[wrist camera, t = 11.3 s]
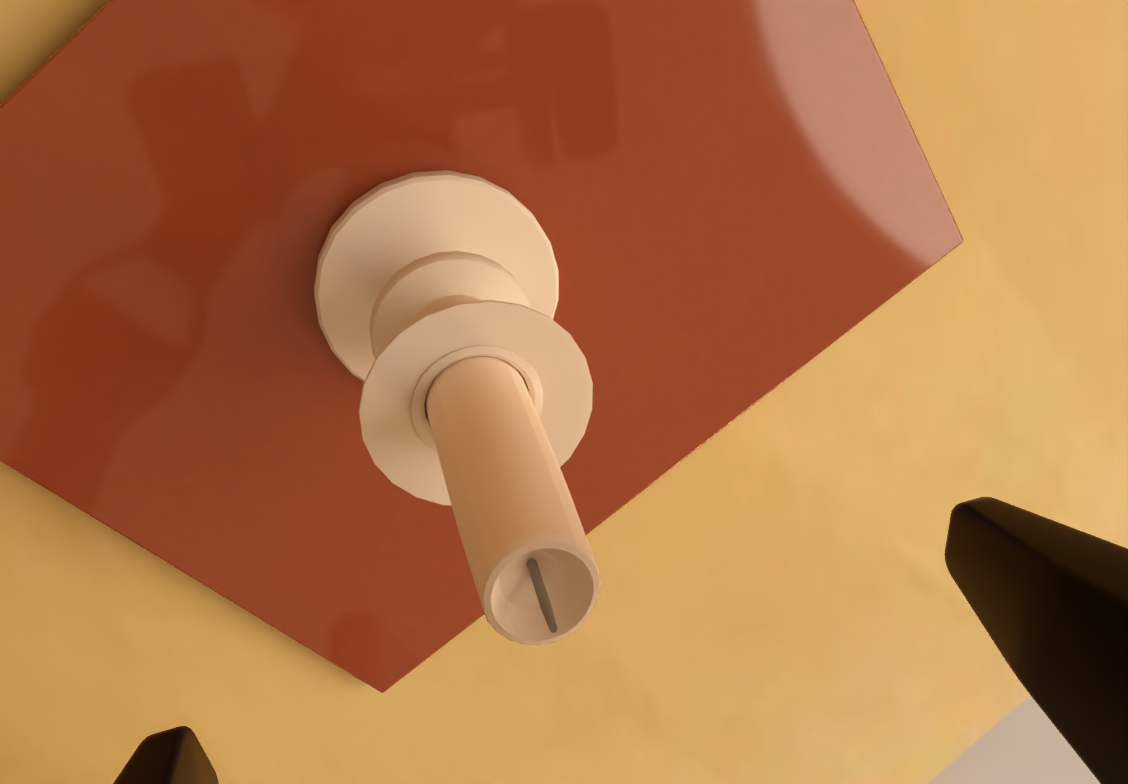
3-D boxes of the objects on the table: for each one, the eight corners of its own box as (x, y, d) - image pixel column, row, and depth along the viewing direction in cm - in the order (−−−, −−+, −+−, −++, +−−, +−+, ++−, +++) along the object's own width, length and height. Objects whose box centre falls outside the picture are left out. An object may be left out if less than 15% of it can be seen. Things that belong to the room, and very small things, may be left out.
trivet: (381, 678, 24) (382, 694, 24) (-211, 311, 16) (-228, 324, 15) (950, 233, 22) (965, 241, 21) (614, -486, 13) (626, -500, 13)
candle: (282, 196, 16) (248, 515, 8) (536, 146, 17) (768, 384, 9) (350, 415, 19) (381, 835, 10) (567, 363, 20) (765, 712, 11)
